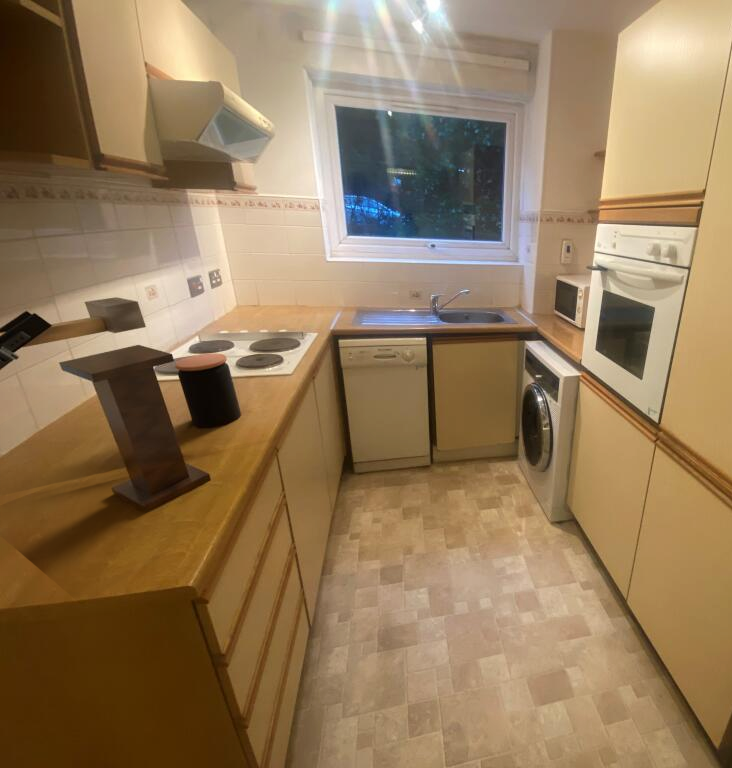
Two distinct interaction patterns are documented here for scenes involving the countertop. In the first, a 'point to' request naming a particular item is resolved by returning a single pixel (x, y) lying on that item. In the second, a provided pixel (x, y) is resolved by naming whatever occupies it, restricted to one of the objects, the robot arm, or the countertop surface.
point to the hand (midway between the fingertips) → (38, 318)
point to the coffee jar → (208, 390)
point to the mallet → (96, 321)
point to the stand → (139, 424)
